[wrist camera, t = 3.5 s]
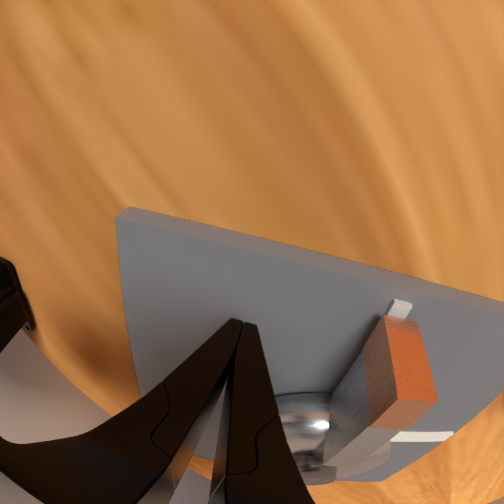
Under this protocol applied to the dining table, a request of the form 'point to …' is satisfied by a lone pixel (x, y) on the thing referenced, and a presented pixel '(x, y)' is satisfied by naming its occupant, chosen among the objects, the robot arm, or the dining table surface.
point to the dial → (361, 406)
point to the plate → (300, 320)
